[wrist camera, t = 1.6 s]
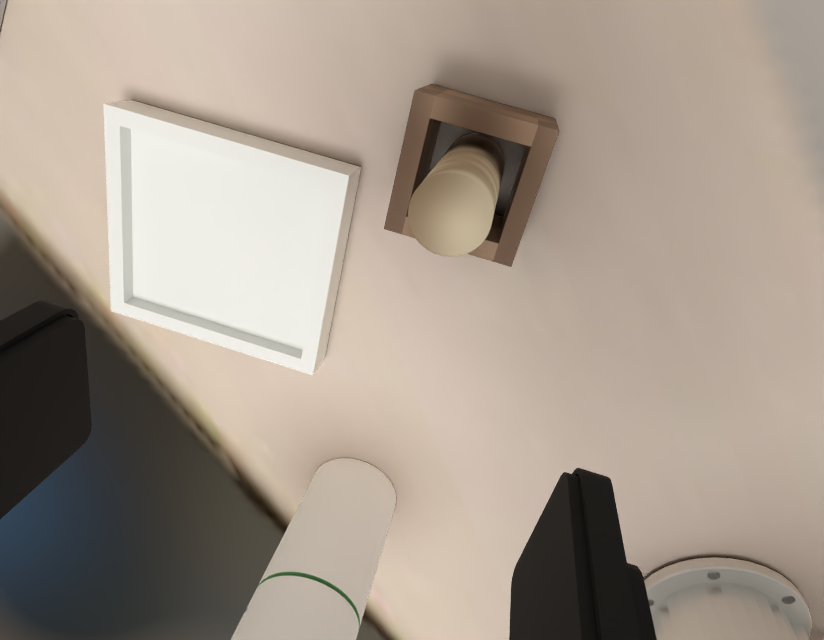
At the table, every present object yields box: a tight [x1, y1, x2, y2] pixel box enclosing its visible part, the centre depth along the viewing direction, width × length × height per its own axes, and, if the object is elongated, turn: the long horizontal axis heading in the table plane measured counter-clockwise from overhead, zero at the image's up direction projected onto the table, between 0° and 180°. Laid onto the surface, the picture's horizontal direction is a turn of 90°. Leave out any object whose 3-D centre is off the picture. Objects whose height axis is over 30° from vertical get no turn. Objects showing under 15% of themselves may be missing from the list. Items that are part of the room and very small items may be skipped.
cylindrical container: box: [231, 458, 396, 640], centre depth 34 cm, size 7×7×25 cm
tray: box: [103, 100, 361, 375], centre depth 35 cm, size 15×14×2 cm
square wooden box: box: [384, 84, 559, 267], centre depth 29 cm, size 7×7×5 cm
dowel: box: [408, 133, 505, 257], centre depth 27 cm, size 3×3×11 cm
